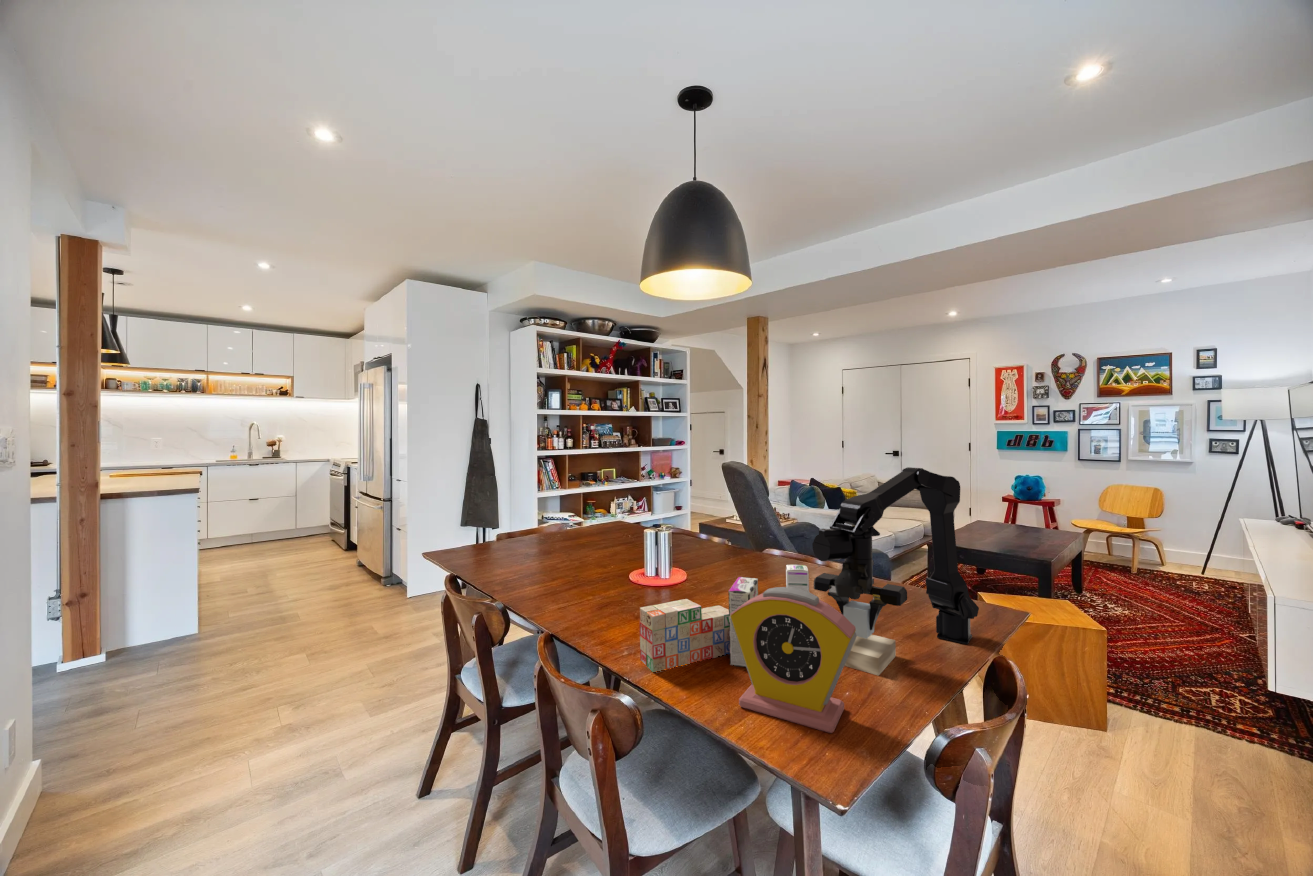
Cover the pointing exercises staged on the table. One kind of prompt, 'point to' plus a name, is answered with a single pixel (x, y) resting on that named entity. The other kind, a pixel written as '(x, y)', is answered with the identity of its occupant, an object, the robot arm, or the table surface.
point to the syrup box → (797, 577)
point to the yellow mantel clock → (793, 656)
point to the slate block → (859, 617)
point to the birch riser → (871, 654)
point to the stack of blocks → (682, 634)
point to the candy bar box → (737, 597)
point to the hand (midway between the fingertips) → (858, 626)
